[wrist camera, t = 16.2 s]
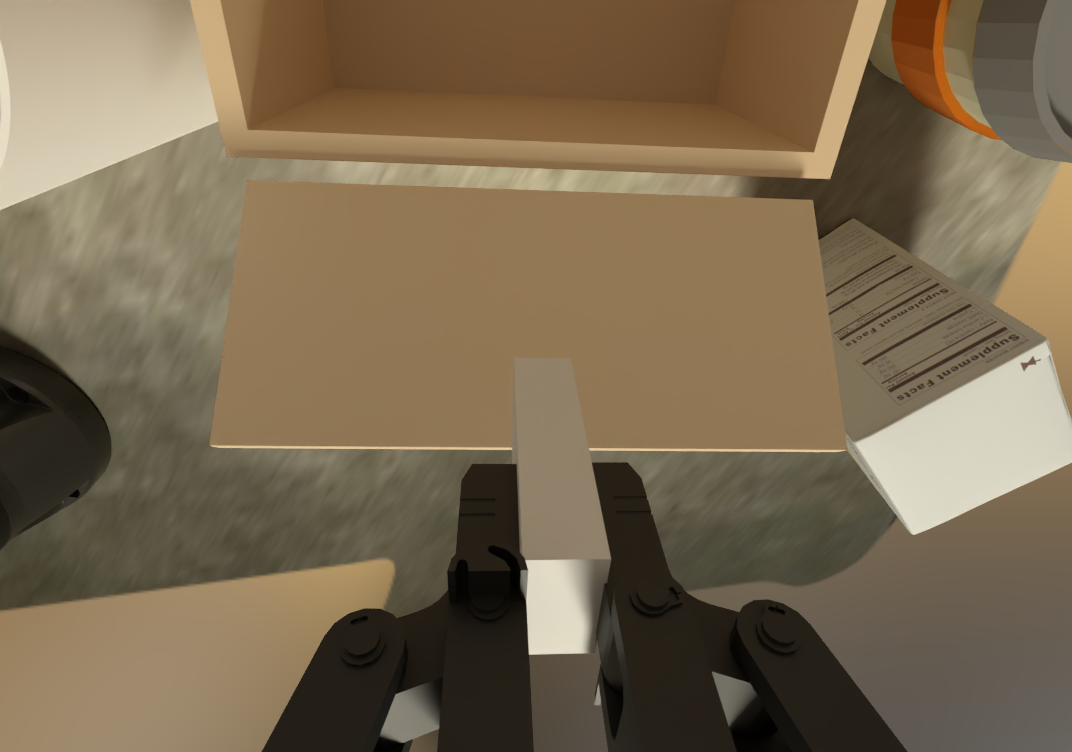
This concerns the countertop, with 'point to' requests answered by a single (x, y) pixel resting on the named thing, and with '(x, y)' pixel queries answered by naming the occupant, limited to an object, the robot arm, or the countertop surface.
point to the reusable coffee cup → (986, 66)
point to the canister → (93, 87)
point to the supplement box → (936, 383)
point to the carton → (541, 82)
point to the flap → (525, 319)
